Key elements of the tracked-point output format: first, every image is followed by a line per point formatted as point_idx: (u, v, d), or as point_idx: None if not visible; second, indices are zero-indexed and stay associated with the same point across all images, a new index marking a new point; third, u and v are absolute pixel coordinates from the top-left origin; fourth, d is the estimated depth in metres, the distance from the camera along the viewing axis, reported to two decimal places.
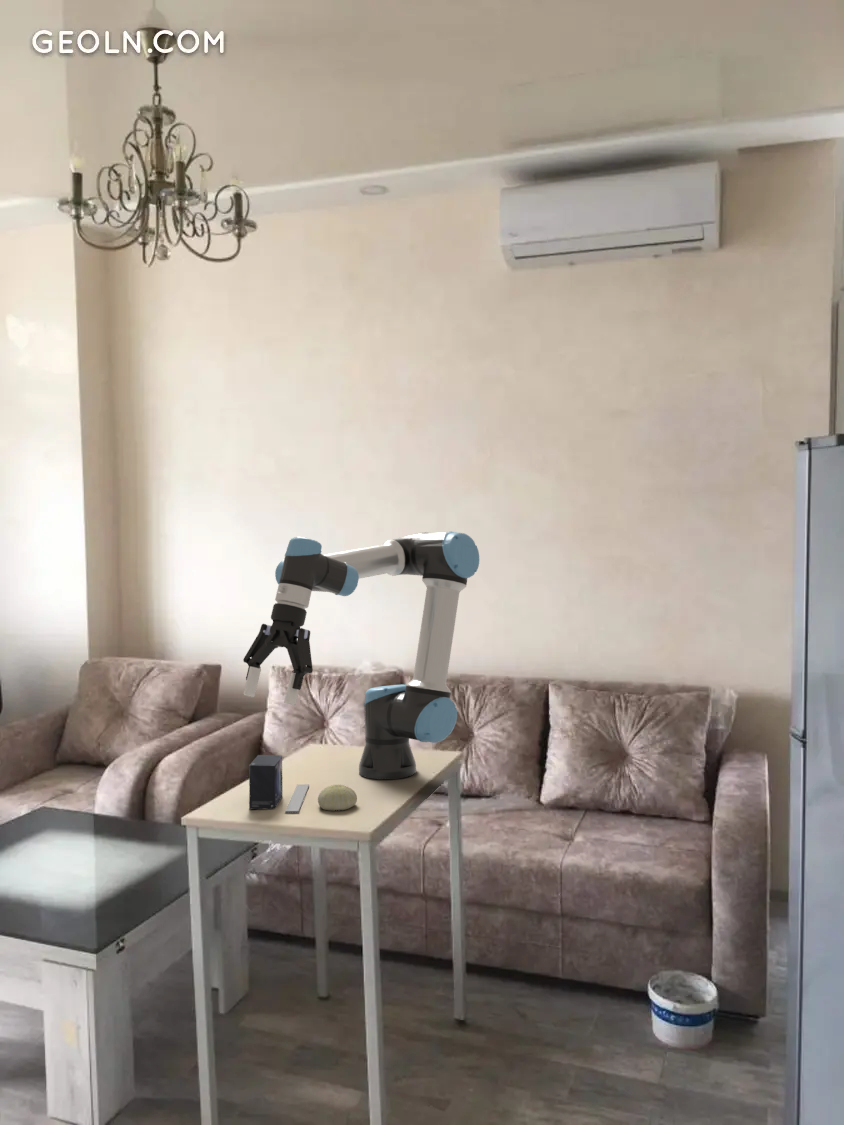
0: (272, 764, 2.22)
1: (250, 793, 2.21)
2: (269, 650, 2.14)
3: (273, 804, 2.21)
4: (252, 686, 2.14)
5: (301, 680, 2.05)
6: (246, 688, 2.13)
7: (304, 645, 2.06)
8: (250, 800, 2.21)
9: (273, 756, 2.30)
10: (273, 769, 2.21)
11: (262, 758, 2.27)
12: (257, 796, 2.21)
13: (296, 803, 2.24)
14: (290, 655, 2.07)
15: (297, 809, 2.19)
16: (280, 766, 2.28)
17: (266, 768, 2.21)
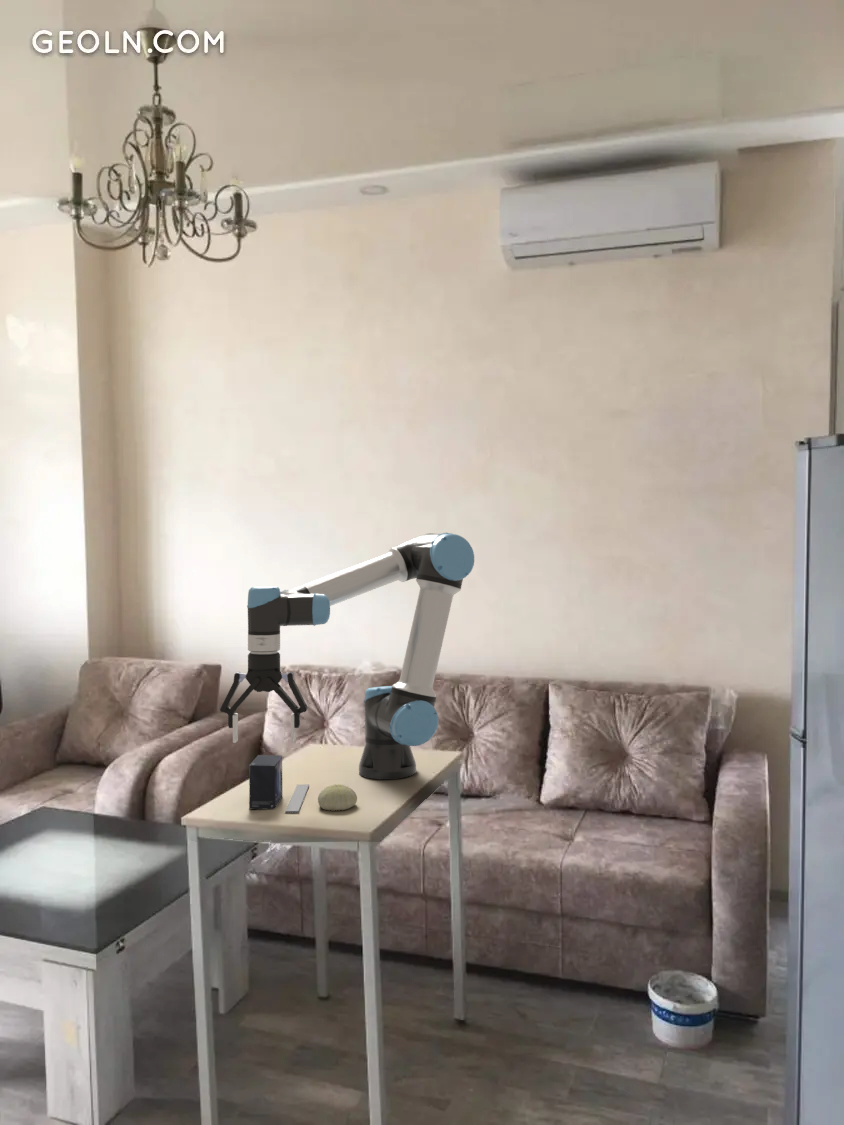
0: (272, 764, 2.22)
1: (250, 793, 2.21)
2: (247, 695, 2.26)
3: (273, 804, 2.21)
4: (237, 732, 2.26)
5: (299, 718, 2.26)
6: (235, 736, 2.25)
7: (296, 687, 2.25)
8: (250, 800, 2.21)
9: (273, 756, 2.30)
10: (273, 769, 2.21)
11: (262, 758, 2.27)
12: (257, 796, 2.21)
13: (296, 803, 2.24)
14: (284, 699, 2.25)
15: (297, 809, 2.19)
16: (280, 766, 2.28)
17: (266, 768, 2.21)
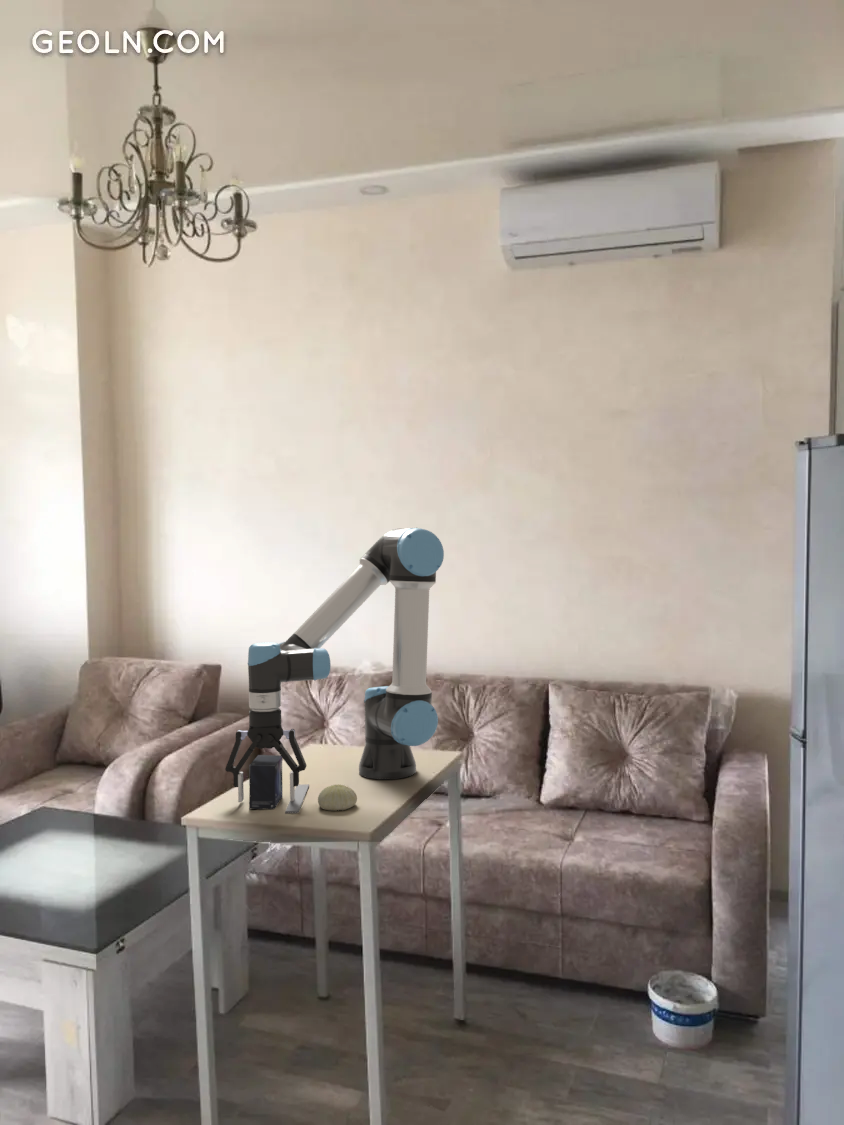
0: (272, 764, 2.22)
1: (250, 793, 2.21)
2: None
3: (273, 804, 2.21)
4: (242, 790, 2.26)
5: (298, 776, 2.27)
6: (240, 795, 2.25)
7: (297, 745, 2.26)
8: (250, 800, 2.21)
9: (273, 756, 2.30)
10: (273, 769, 2.21)
11: (262, 758, 2.27)
12: (258, 796, 2.21)
13: (296, 803, 2.24)
14: (284, 757, 2.25)
15: (297, 809, 2.19)
16: (280, 766, 2.28)
17: (266, 768, 2.21)
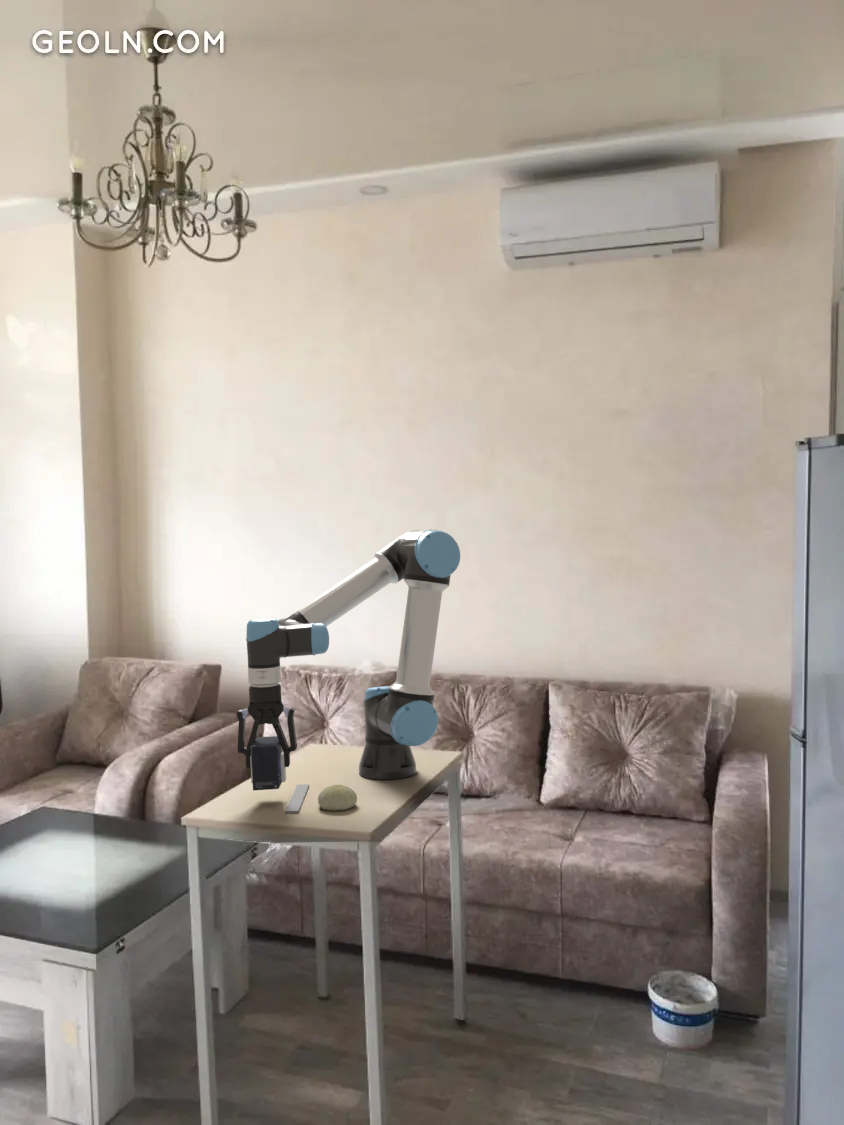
0: (273, 744, 2.22)
1: (253, 774, 2.21)
2: (257, 731, 2.26)
3: (277, 784, 2.22)
4: None
5: (289, 757, 2.27)
6: None
7: (293, 725, 2.26)
8: (253, 781, 2.21)
9: (273, 737, 2.30)
10: (275, 749, 2.21)
11: (262, 739, 2.27)
12: (261, 777, 2.21)
13: (296, 803, 2.24)
14: (278, 735, 2.25)
15: (297, 809, 2.19)
16: None
17: (268, 749, 2.21)
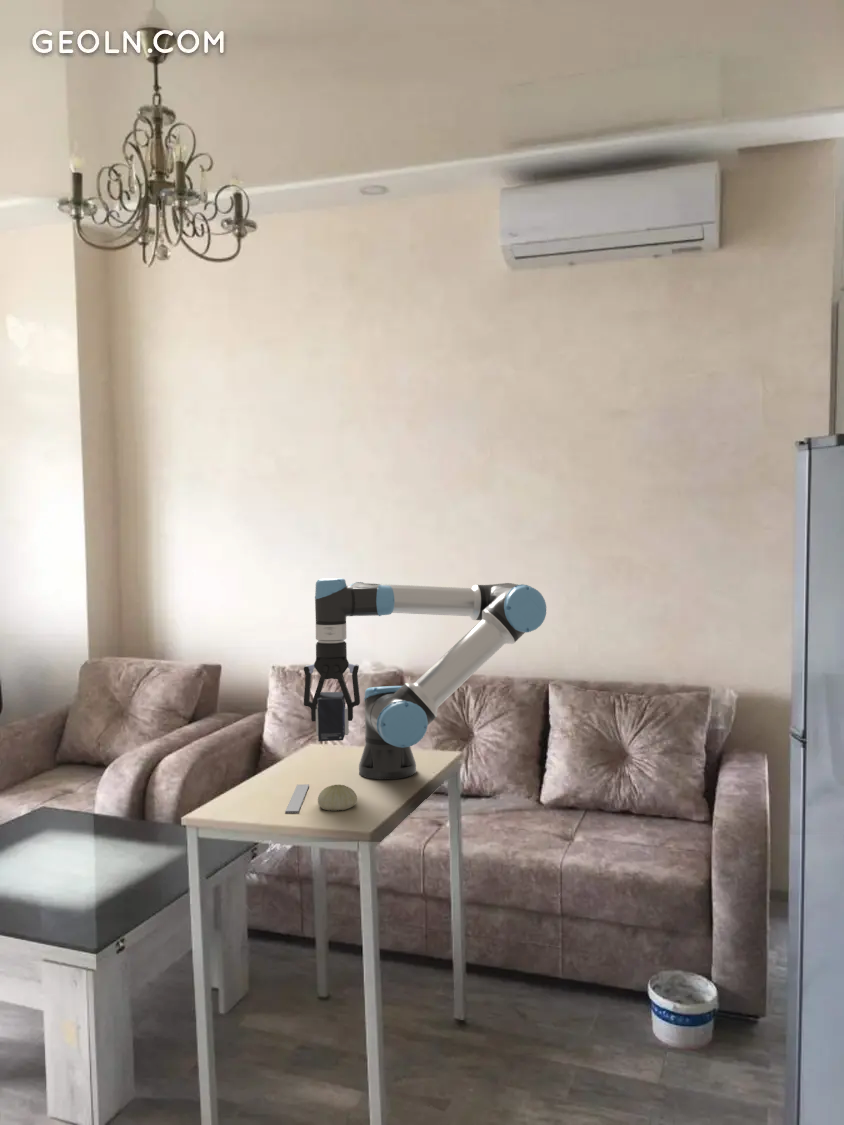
0: (339, 698, 2.32)
1: (319, 726, 2.31)
2: None
3: (341, 736, 2.31)
4: None
5: None
6: None
7: (357, 680, 2.35)
8: (319, 733, 2.31)
9: (336, 692, 2.39)
10: (340, 702, 2.31)
11: (327, 694, 2.37)
12: (326, 728, 2.31)
13: (296, 803, 2.24)
14: (343, 690, 2.35)
15: (297, 809, 2.19)
16: (344, 701, 2.37)
17: (334, 701, 2.31)
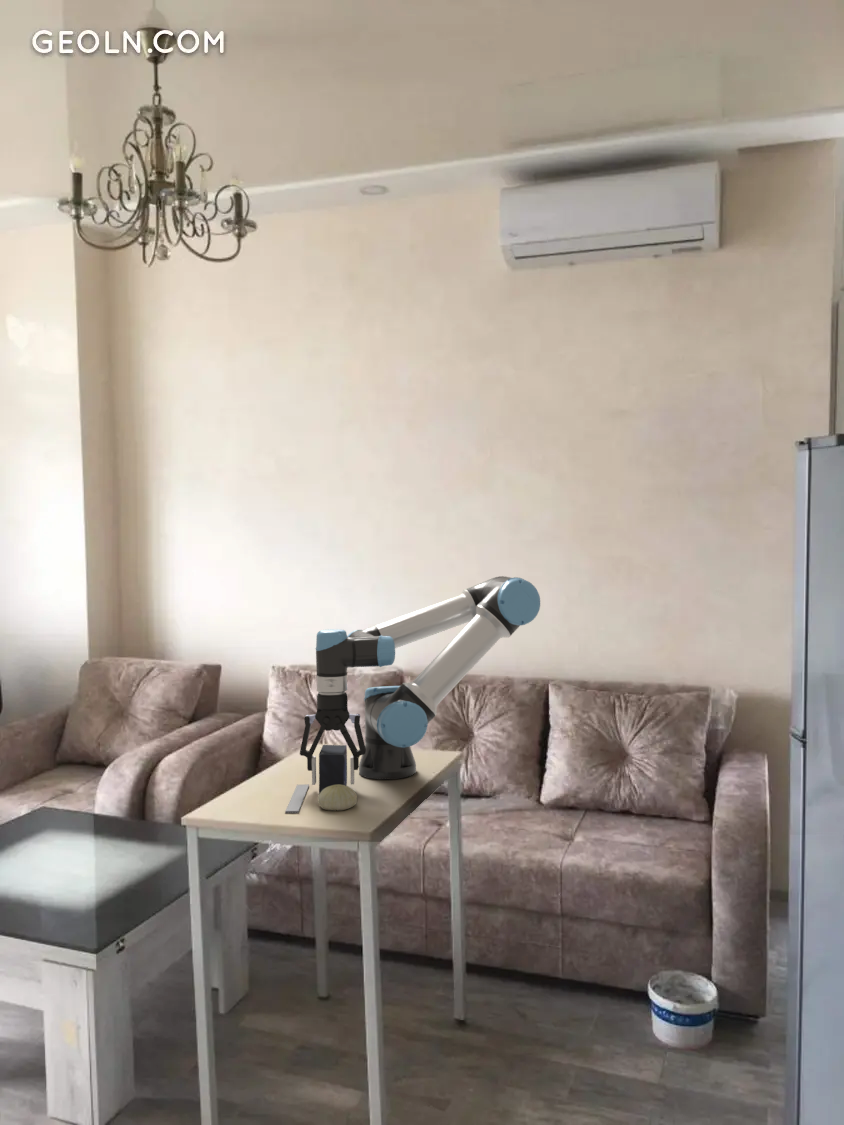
0: (341, 753, 2.32)
1: (320, 781, 2.32)
2: None
3: None
4: (315, 774, 2.37)
5: (358, 760, 2.37)
6: (314, 778, 2.35)
7: (360, 730, 2.36)
8: (320, 787, 2.32)
9: (338, 746, 2.40)
10: (342, 758, 2.31)
11: (329, 748, 2.37)
12: (327, 783, 2.31)
13: (296, 803, 2.24)
14: (347, 740, 2.35)
15: (297, 809, 2.19)
16: (346, 755, 2.38)
17: (335, 757, 2.31)
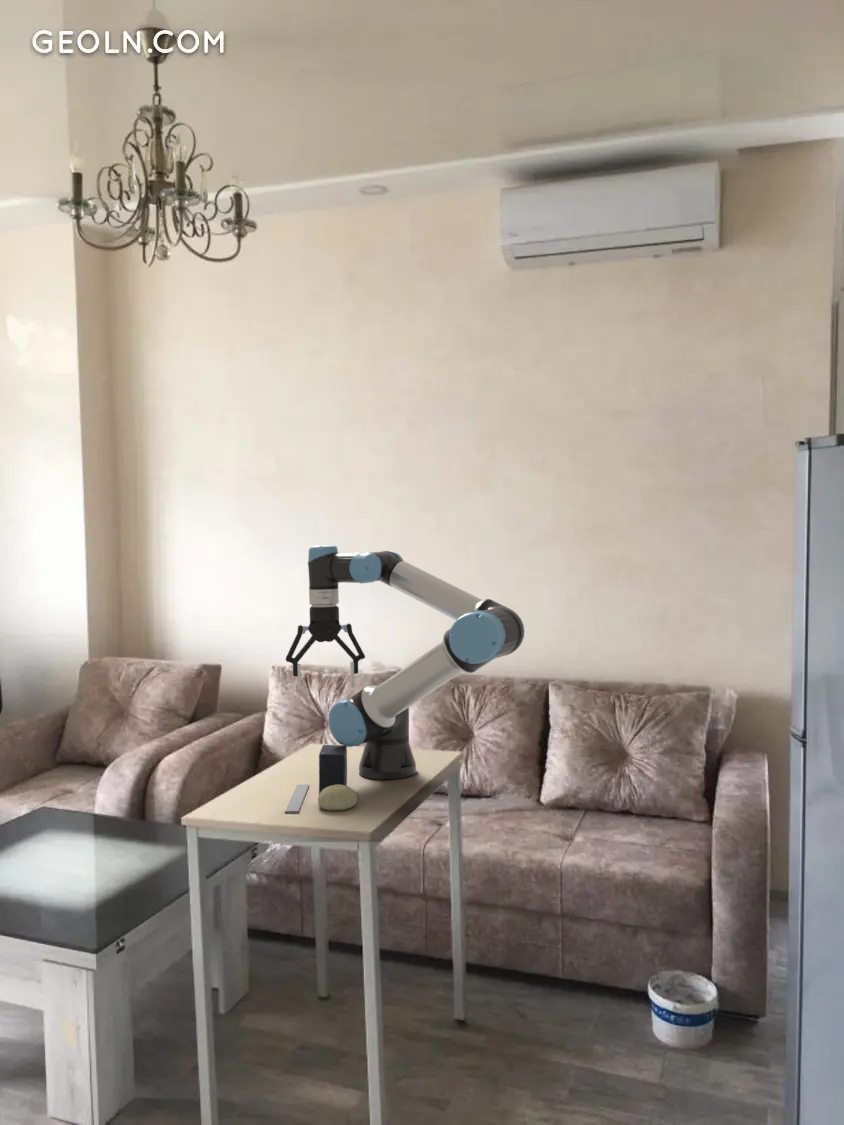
0: (341, 753, 2.32)
1: (320, 781, 2.32)
2: None
3: None
4: None
5: None
6: (300, 683, 2.44)
7: (354, 636, 2.47)
8: (320, 787, 2.32)
9: (338, 746, 2.40)
10: (342, 758, 2.31)
11: (329, 748, 2.38)
12: (327, 783, 2.31)
13: (296, 803, 2.24)
14: (344, 648, 2.46)
15: (297, 809, 2.19)
16: (346, 755, 2.38)
17: (336, 757, 2.31)
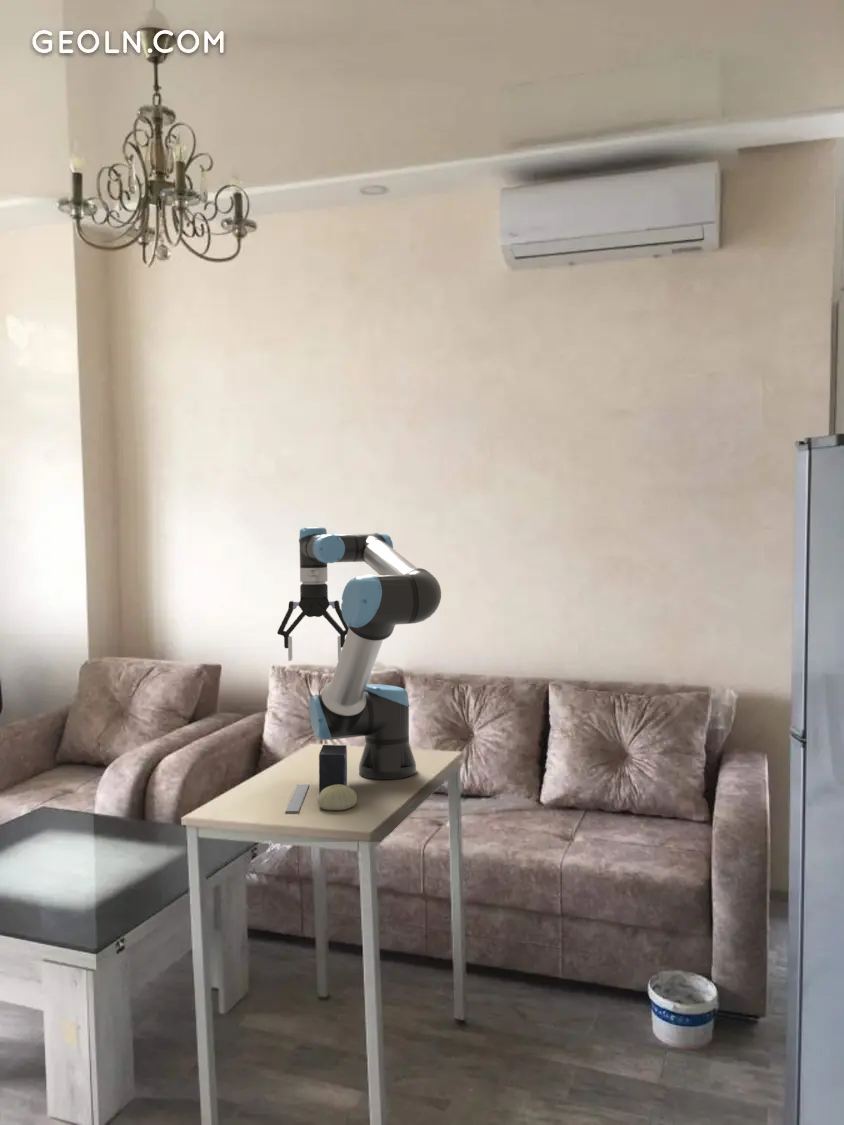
0: (341, 753, 2.32)
1: (320, 781, 2.32)
2: None
3: None
4: (291, 651, 2.65)
5: (345, 639, 2.65)
6: (290, 655, 2.63)
7: (341, 613, 2.64)
8: (320, 788, 2.32)
9: (338, 746, 2.40)
10: (342, 758, 2.31)
11: (329, 748, 2.37)
12: (327, 783, 2.31)
13: (296, 803, 2.24)
14: (331, 623, 2.63)
15: (297, 809, 2.19)
16: (346, 755, 2.38)
17: (336, 757, 2.31)
